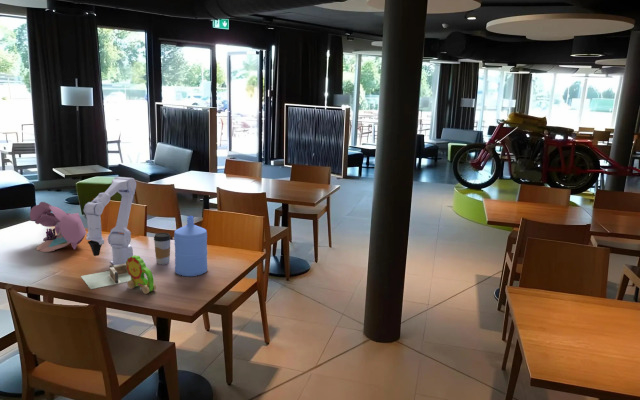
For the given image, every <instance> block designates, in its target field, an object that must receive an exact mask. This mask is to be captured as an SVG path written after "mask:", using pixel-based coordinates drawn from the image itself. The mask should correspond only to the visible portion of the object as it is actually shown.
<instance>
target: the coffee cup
mask: <svg viewBox="0 0 640 400" xmlns="http://www.w3.org/2000/svg"><path fill="white" fill-rule="evenodd" d="M171 238H172V237H171V235H170V233H167V232H158V233H156V234H154V237H153V243H154V252H155V260H156V263H158V264H157V265H161V264H162V265H167V263H168V264H169V263H170V256H171Z"/></svg>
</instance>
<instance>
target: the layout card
mask: <svg viewBox="0 0 640 400" xmlns="http://www.w3.org/2000/svg"><path fill="white" fill-rule="evenodd" d="M80 278H81V279H82V280H83V282H84V283H85V285H87V287H88V288H89V289H90V290H95V289H100V288H104V287H110V286H113V285H119V284H123V283H124V284H125V283H128V281H130V280H131V276H130V275H129V274H128V273H122V274H118V283H115V281H114V280H113V279H112V277H111V276H110V270H106V271H101V272H95V273H89V274H85V275H80Z"/></svg>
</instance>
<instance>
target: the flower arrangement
mask: <svg viewBox="0 0 640 400" xmlns="http://www.w3.org/2000/svg"><path fill="white" fill-rule="evenodd" d="M29 217H30V220H31V222H33V221H34V223H35V224H36V225H39V224H40V225H41V226H42V227H47V228H46V231H45V234H46V236H45V237H44V238H42V239H43V240H42V242H41V243H40V244H39V245H38V246H36V250H37V251H38V252H39V251H40V252H44V253H45V252H46V253H47V252H54V251H55V250H58V249H62V248H65V247H67V246H69V245H71V247H72V248H73V250H76V248H77V246H78V245H79V244H81V242H82V241H83V240H84V239H85V237H86V236H87V231H86V229H85V226H84V224H83V221H82V219H81V217H80V213H79V212H76V213H75V212H74V213H70V212H67V213H66V212H65V210H62V209H61V208H59V207H57V206H54V205H51V204H50V203H48V202H46V201H40V202H39V203H38V204H36V205H34V206H32V208H31V209H30V212H29ZM48 227H54V228H48Z"/></svg>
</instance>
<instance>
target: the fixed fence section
mask: <svg viewBox="0 0 640 400" xmlns="http://www.w3.org/2000/svg"><path fill="white" fill-rule="evenodd" d="M110 267H114V268H115V270H116V271H117V272H118V274H122V273H128V271H127V269H126V263H125V264H119V265H113V264H112V265H111V264H110V265H109V268H110ZM110 276H111V274H110Z"/></svg>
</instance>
